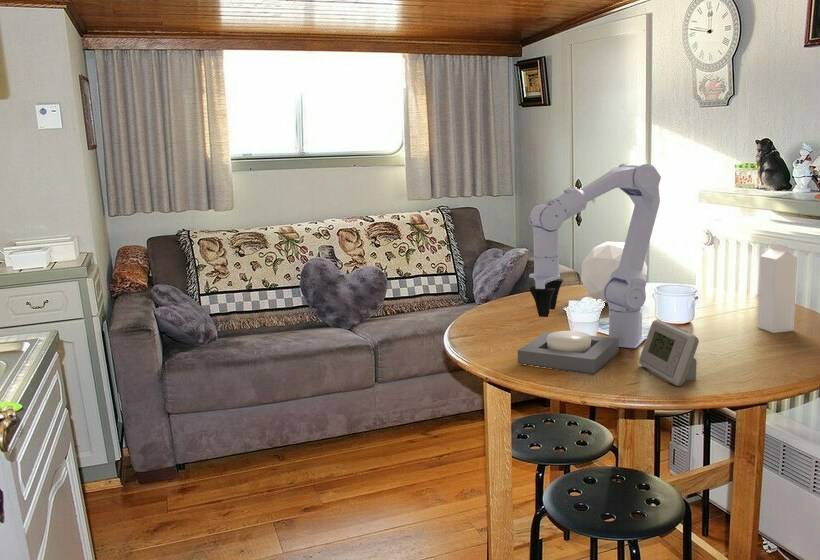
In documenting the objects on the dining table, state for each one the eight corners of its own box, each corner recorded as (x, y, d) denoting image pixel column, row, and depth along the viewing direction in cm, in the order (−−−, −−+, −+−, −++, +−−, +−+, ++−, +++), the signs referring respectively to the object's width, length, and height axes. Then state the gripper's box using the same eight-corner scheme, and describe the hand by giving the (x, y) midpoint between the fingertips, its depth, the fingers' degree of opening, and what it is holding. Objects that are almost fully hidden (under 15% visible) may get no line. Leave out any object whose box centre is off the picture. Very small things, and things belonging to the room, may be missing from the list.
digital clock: (636, 364, 163) (637, 318, 161) (676, 363, 163) (678, 317, 161) (660, 389, 147) (660, 338, 145) (704, 387, 147) (706, 336, 145)
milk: (772, 333, 182) (776, 246, 178) (756, 327, 188) (760, 243, 183) (794, 330, 183) (798, 244, 179) (777, 325, 189) (781, 241, 185)
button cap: (556, 341, 176) (556, 329, 175) (596, 346, 171) (596, 333, 170) (540, 353, 168) (540, 339, 167) (582, 358, 162) (582, 344, 162)
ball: (630, 326, 220) (657, 282, 206) (567, 304, 222) (590, 258, 207) (634, 285, 233) (661, 241, 219) (575, 265, 235) (597, 219, 221)
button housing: (547, 344, 182) (546, 331, 181) (618, 352, 172) (618, 338, 172) (517, 364, 167) (517, 350, 166) (594, 374, 157) (594, 359, 157)
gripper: (536, 251, 177) (537, 305, 179) (521, 261, 164) (523, 319, 166) (565, 251, 174) (565, 306, 177) (553, 261, 161) (553, 320, 164)
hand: (547, 312), depth 171 cm, fingers open, 7 cm apart
